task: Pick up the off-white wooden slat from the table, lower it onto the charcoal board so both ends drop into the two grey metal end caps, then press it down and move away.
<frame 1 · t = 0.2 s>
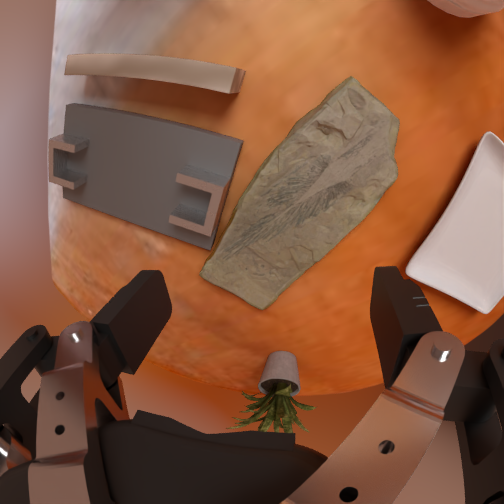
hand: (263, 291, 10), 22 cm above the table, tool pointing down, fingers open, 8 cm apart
house plant: (280, 354, 48), on the table
stone slab: (298, 203, 32), on the table
salad plate: (484, 227, 29), on the table
base board: (137, 168, 32), on the table
slat: (157, 66, 25), on the table
end caps: (124, 176, 30), on the base board, point 3 cm above the table
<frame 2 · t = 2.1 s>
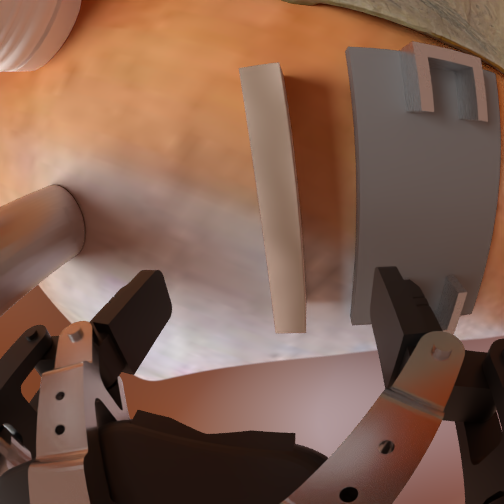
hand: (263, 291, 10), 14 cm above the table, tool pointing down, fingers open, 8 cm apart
base board: (431, 196, 20), on the table
slat: (283, 197, 23), on the table
end caps: (446, 206, 18), on the base board, point 3 cm above the table
honey pot: (46, 24, 17), on the table
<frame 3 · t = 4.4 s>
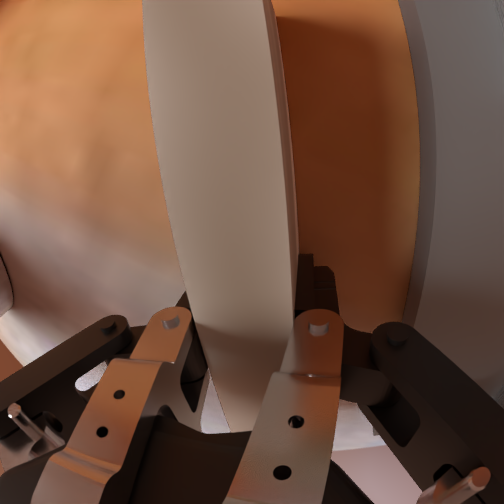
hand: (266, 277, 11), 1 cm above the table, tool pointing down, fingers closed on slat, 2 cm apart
slat: (269, 267, 12), on the table, touching gripper
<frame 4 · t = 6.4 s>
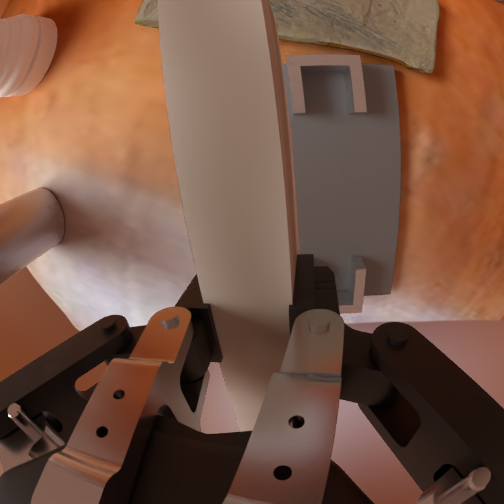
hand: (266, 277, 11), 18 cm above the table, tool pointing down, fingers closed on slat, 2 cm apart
base board: (329, 184, 27), on the table
slat: (271, 257, 13), point 16 cm above the table, touching gripper
end caps: (333, 191, 24), on the base board, point 2 cm above the table
honey pot: (31, 55, 23), on the table
when the fingers open (3 cm above the table, at t = 9.0 s): slat stays where it is, resting on base board.
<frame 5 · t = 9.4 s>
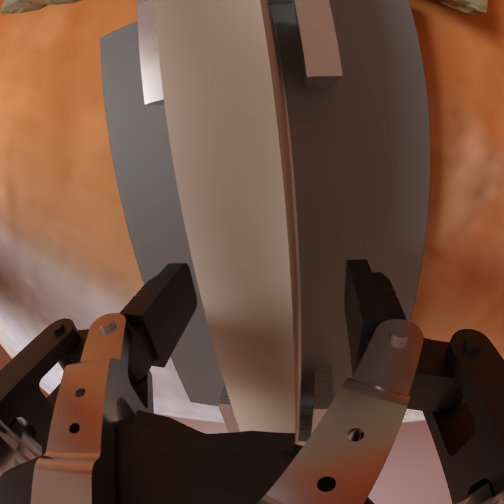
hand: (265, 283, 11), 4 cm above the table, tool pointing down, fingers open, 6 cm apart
base board: (275, 245, 14), on the table
slat: (270, 257, 12), point 1 cm above the table, touching base board
end caps: (267, 276, 11), on the base board, point 2 cm above the table
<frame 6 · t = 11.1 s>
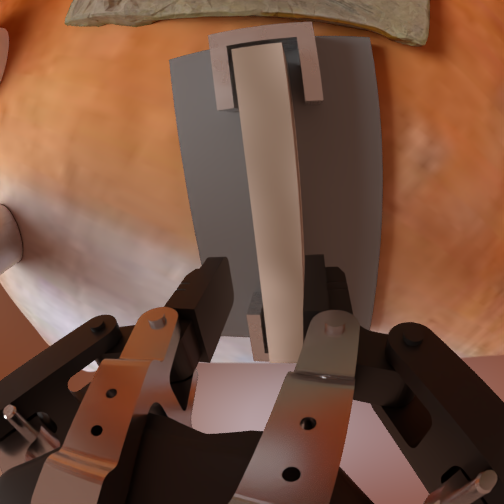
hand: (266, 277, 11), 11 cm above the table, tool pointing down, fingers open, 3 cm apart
base board: (285, 201, 21), on the table
slat: (284, 206, 20), point 1 cm above the table, touching base board
end caps: (282, 213, 18), on the base board, point 2 cm above the table
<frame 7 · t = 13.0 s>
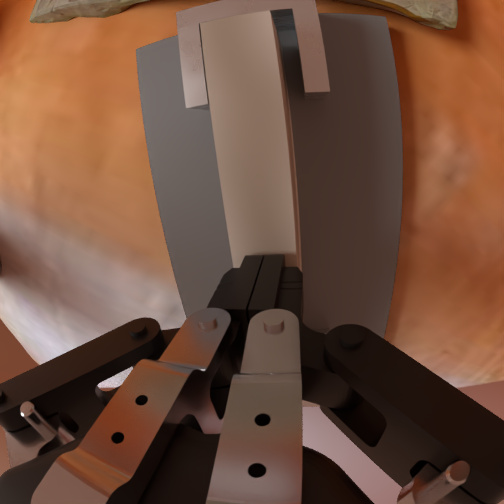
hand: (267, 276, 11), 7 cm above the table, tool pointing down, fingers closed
base board: (280, 222, 17), on the table
slat: (277, 230, 16), point 1 cm above the table, touching base board, gripper
end caps: (275, 241, 14), on the base board, point 3 cm above the table
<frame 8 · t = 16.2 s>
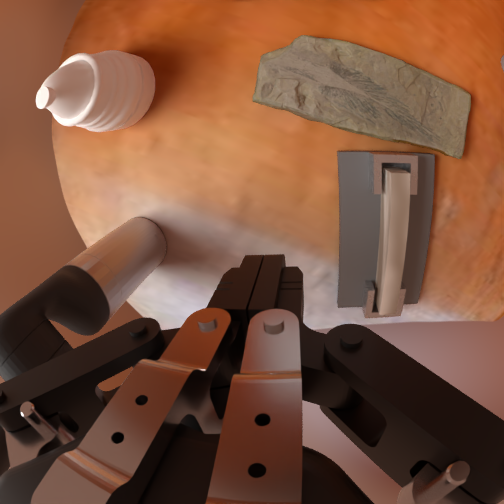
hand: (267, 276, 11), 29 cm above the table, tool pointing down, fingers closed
stone slab: (369, 93, 31), on the table
base board: (385, 233, 38), on the table
slat: (387, 236, 37), point 1 cm above the table, touching base board
end caps: (390, 241, 36), on the base board, point 3 cm above the table
honey pot: (121, 91, 36), on the table
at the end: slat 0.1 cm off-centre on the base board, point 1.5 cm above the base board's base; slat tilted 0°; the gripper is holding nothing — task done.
